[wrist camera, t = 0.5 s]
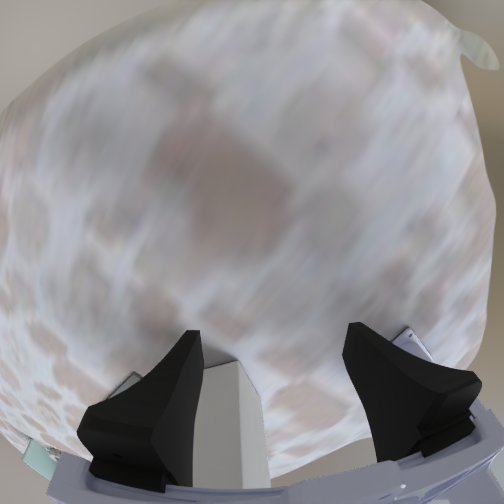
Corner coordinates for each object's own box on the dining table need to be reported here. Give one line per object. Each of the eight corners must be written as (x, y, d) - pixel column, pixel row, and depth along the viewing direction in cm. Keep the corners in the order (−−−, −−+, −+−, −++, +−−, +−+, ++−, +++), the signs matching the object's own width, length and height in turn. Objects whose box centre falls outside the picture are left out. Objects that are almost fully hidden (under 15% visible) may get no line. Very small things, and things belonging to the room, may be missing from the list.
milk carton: (204, 412, 28) (196, 558, 10) (174, 374, 25) (143, 546, 8) (261, 399, 27) (280, 556, 9) (238, 358, 25) (247, 554, 7)
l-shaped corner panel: (93, 469, 37) (85, 493, 30) (66, 466, 38) (59, 487, 31) (53, 439, 33) (42, 465, 26) (31, 438, 34) (21, 459, 27)
